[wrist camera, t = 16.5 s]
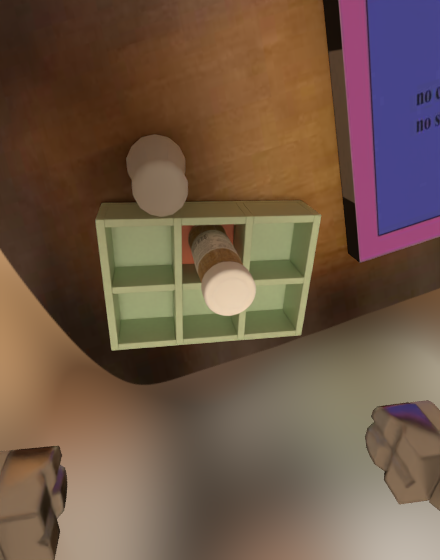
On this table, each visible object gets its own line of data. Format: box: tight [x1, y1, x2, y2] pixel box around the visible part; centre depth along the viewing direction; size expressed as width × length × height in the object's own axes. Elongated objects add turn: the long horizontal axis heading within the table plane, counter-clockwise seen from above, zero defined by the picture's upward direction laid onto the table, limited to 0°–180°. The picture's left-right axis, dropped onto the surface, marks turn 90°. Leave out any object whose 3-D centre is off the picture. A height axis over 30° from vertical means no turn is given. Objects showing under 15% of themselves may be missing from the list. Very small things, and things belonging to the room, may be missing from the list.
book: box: [323, 0, 440, 263], centre depth 40 cm, size 21×3×30 cm
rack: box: [95, 200, 321, 350], centre depth 42 cm, size 23×15×6 cm
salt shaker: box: [126, 134, 188, 217], centre depth 33 cm, size 6×6×13 cm
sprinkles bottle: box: [188, 225, 256, 316], centre depth 37 cm, size 5×5×14 cm
